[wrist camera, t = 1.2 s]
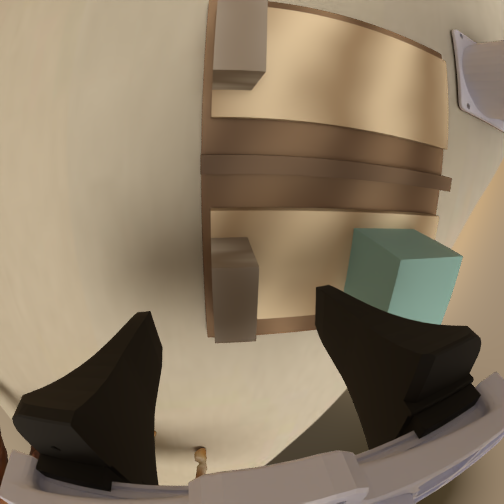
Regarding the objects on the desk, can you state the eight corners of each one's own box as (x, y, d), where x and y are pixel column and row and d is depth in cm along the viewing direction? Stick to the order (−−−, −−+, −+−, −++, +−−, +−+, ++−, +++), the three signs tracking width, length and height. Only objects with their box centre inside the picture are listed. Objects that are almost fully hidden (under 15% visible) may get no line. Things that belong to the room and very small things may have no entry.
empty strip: (438, 62, 13) (484, 55, 9) (439, 148, 16) (488, 156, 12) (217, 10, 11) (220, -33, 7) (211, 118, 14) (211, 105, 9)
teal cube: (413, 229, 17) (462, 256, 12) (399, 293, 19) (438, 330, 14) (353, 228, 16) (400, 259, 12) (342, 299, 18) (376, 344, 14)
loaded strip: (432, 213, 18) (477, 234, 13) (413, 296, 20) (448, 327, 16) (210, 207, 16) (210, 233, 11) (213, 314, 18) (216, 364, 14)
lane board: (434, 55, 14) (451, 52, 12) (405, 310, 22) (417, 322, 20) (209, 4, 12) (209, -11, 10) (207, 330, 20) (207, 348, 18)
